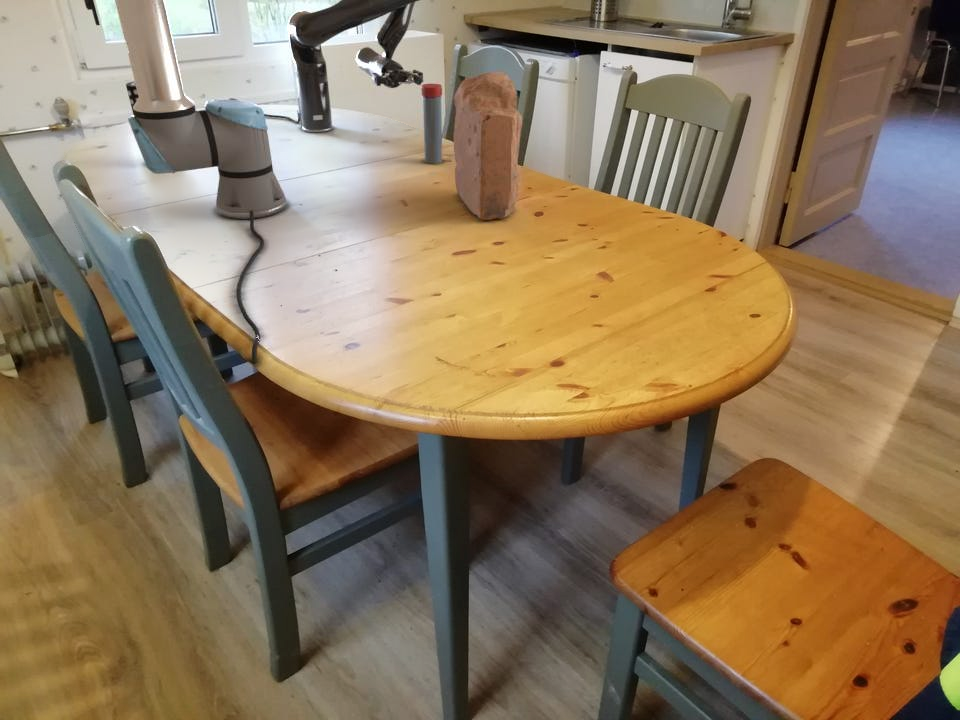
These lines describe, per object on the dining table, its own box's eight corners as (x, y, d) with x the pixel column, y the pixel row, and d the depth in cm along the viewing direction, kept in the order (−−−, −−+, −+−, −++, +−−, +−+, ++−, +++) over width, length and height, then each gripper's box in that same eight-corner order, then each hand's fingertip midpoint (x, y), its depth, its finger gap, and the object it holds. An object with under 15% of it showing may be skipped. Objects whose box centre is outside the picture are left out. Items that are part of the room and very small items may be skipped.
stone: (529, 217, 153) (533, 83, 139) (481, 223, 150) (480, 86, 136) (496, 190, 171) (497, 69, 157) (453, 195, 168) (450, 71, 154)
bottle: (445, 161, 190) (444, 87, 180) (434, 165, 187) (432, 90, 177) (432, 157, 193) (430, 84, 182) (421, 161, 189) (418, 87, 179)
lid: (446, 95, 181) (446, 85, 180) (433, 98, 177) (432, 88, 176) (430, 92, 184) (430, 82, 182) (417, 95, 180) (417, 85, 179)
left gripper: (159, -78, 167) (178, 19, 179) (42, -79, 157) (71, 24, 168) (163, -78, 162) (183, 22, 173) (42, -79, 151) (72, 27, 163)
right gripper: (364, 60, 204) (380, 70, 192) (409, 57, 209) (428, 66, 197) (366, 87, 208) (382, 98, 196) (411, 83, 213) (429, 94, 201)
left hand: (128, 23), depth 171 cm, fingers open, 13 cm apart
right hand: (405, 82), depth 196 cm, fingers open, 8 cm apart
